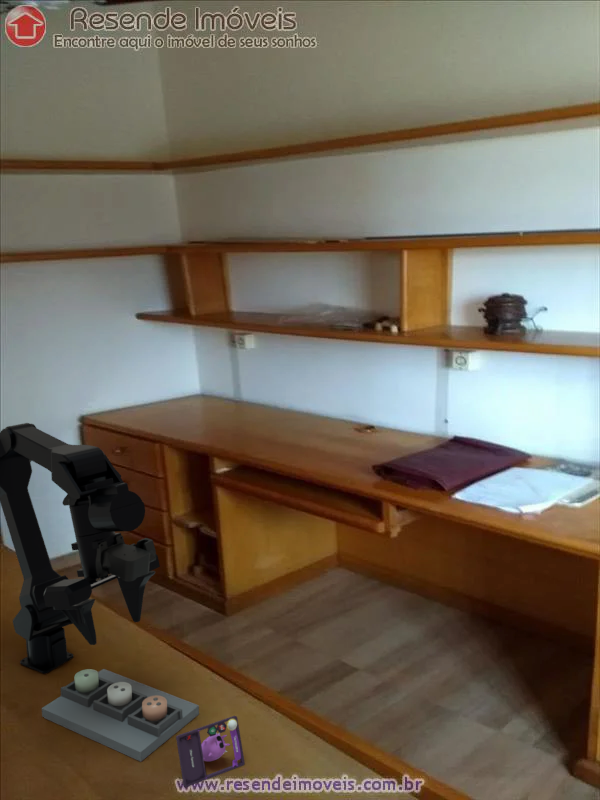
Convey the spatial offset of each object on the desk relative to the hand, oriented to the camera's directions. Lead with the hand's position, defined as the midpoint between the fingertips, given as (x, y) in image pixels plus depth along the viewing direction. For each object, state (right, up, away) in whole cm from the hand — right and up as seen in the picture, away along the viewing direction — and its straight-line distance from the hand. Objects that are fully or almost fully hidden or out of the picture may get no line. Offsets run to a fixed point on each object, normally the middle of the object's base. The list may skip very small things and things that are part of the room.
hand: (115, 632), depth 119 cm
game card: (+15, -16, -9) cm, 24 cm away
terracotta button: (+6, -11, -2) cm, 13 cm away
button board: (0, -13, +2) cm, 13 cm away
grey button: (0, -11, +1) cm, 11 cm away
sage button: (-6, -10, +5) cm, 12 cm away
